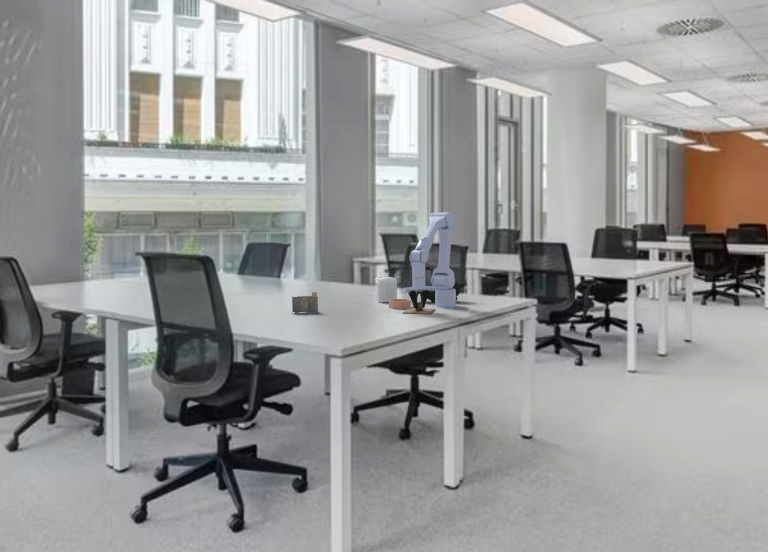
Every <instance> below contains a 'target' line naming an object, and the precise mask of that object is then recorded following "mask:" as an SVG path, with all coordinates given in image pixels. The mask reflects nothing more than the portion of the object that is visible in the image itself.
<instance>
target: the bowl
mask: <svg viewBox="0 0 768 552" xmlns="http://www.w3.org/2000/svg"><path fill="white" fill-rule="evenodd" d="M408 308H412V300H411V299H410V298H409V299H408V298H397V299H391V300H389V302H388V309H391V310H407V309H408Z"/></svg>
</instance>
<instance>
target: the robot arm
mask: <svg viewBox="0 0 768 552" xmlns="http://www.w3.org/2000/svg"><path fill="white" fill-rule="evenodd" d="M429 215H430V216H429V218H428V222H429V225H428V227H427V230H426V232H425V234H424V236H421V237H420V239H419V242H418V243H417V245H416V247H415V249H413V250H411V251H410V253H409V257H408V258H409V261H410V266H411V269H412V270H411V271H412V275H411V279H412V284H411V285H412V286H410V287H409V286H408V287H403V288H402V291H403V292H402V293H405V294H407V293H408V296H409V299H410V300H411V304H412V307H413V308H415V309H417V302H418V298H419V297H418V296H419V295H420V302H423V309H426V308H425V307H426V303H427V301H428V299H427V298H428V296H429V294H430V292H428V291H435V302H434V303H435V305H434V306H433V308H438V309H439V308H440V309H441V308H443V309H444V308H446V309H447V308H449V309H454V308H455V307H456V306H457V301H456V290H455V289H451V288H452V287H453V286H454V284H455V280H456V278H455V272H454V271H453V270H452V269H451V268H450V261H451V260H450V259H451V246H452V235H453V234H452V232H453V231H454V226H455V217H454V215H453V213H452V212H451V211H448V212H447V211H443V212H435V211H434V212H431V213H430V214H429ZM438 232H439V235H440V236H439V247H438V261H437V267H436V268H435V269H434V270H432V276H431V280H430V283H431V286H429V285H426V271H425V266H426V263H427V261H428V258H429V251H430V249H431V248H432V245H433V244H434V243H433V238H434V237H435V235H436V234H437V233H438ZM420 291H421V292H420ZM417 292H420V294H418V293H417Z"/></svg>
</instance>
